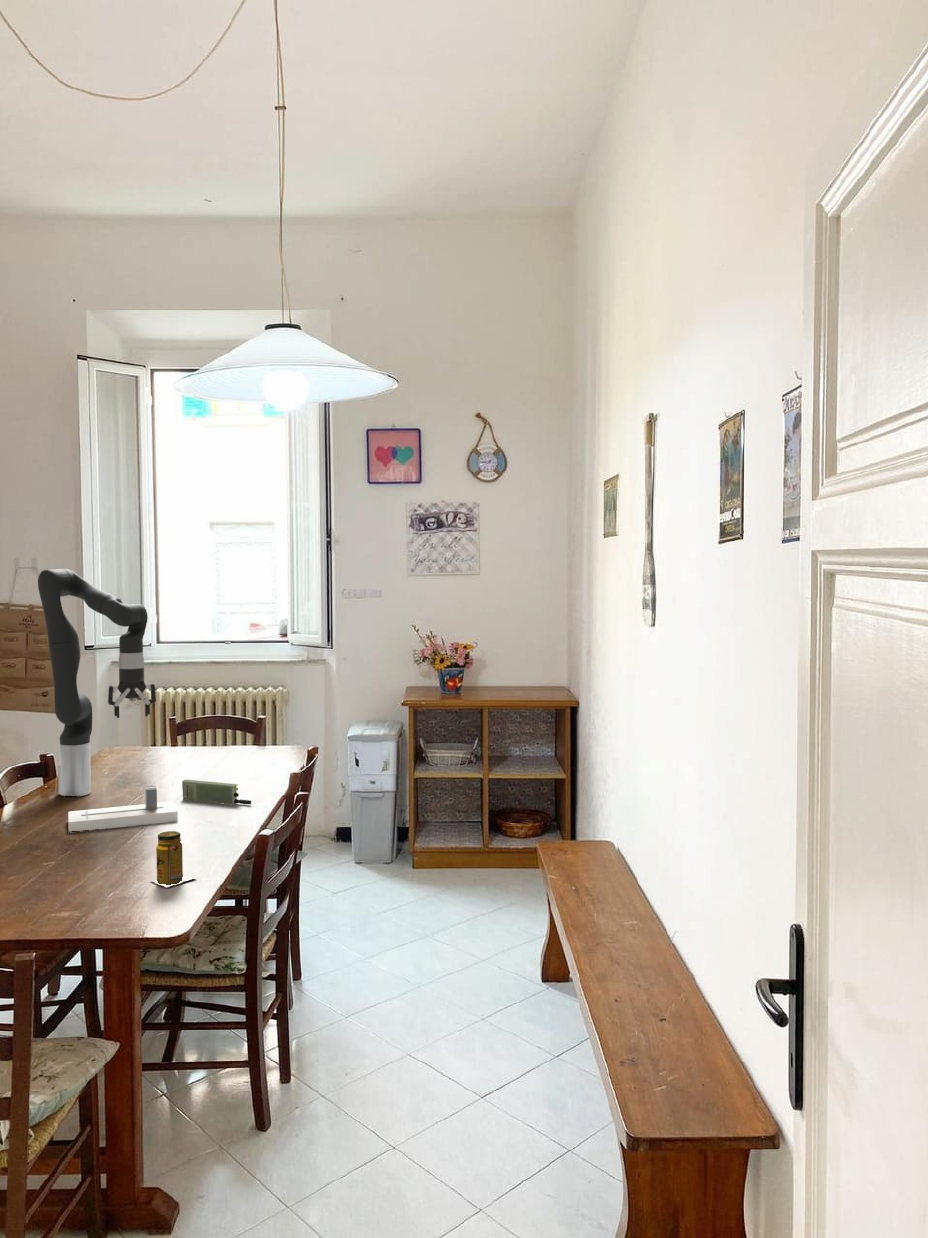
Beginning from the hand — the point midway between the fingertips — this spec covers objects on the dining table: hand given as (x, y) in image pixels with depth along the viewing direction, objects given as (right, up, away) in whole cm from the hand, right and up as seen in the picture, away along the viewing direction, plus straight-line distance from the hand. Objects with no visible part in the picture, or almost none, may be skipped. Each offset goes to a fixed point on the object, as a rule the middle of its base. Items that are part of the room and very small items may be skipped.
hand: (132, 716), depth 288 cm
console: (+4, -29, -18) cm, 35 cm away
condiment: (+35, -33, -68) cm, 83 cm away
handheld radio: (+26, -29, +4) cm, 39 cm away
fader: (+11, -26, -15) cm, 32 cm away
